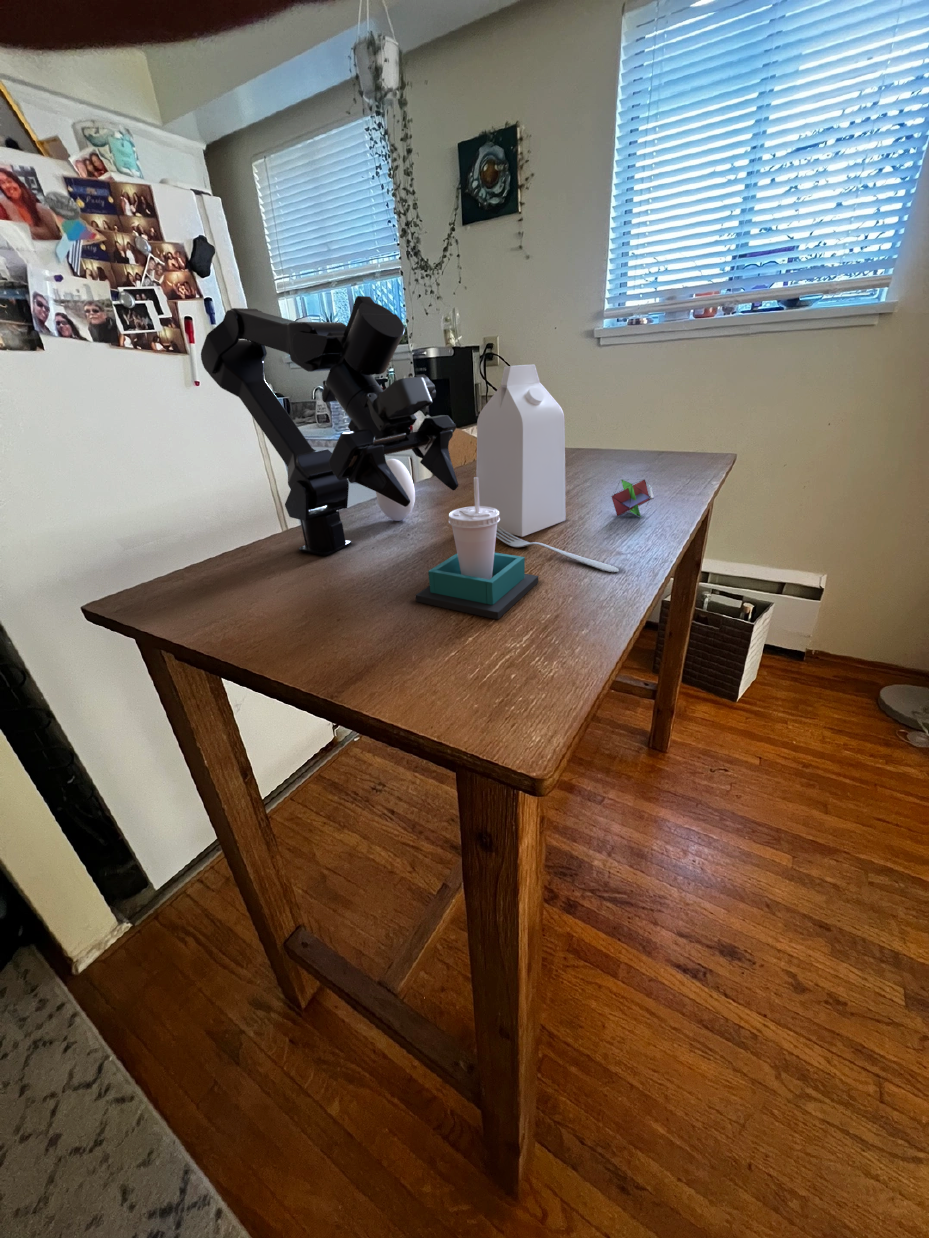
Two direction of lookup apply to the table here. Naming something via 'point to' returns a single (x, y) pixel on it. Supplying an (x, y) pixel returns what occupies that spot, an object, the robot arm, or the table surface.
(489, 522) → the smoothie
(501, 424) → the milk
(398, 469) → the egg
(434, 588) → the dock pad
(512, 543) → the fork
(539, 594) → the table surface
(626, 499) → the geometric puzzle
